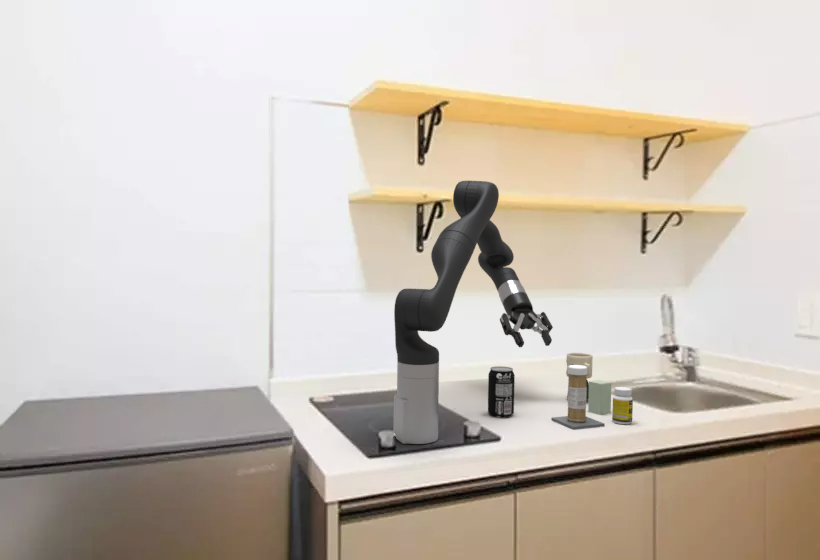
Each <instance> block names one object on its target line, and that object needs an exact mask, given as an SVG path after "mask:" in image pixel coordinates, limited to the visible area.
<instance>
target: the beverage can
mask: <svg viewBox="0 0 820 560" xmlns="http://www.w3.org/2000/svg"><path fill="white" fill-rule="evenodd" d="M487 377H488V379H487V380H488V381H487V382H488V385H487V387H488V390H487V391H488V392H487V413H488V414H489V415H490V416H491V417H494V418H501V419H502V418H503V419H504V418H505V419H507V418H510V417H512V416H513V414H514V413H515V378H516V377H515V373H514V368H512V367H511V366H501V365H498V366H491V367H490V370H489V372H488V376H487Z"/></svg>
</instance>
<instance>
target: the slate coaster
mask: <svg viewBox="0 0 820 560" xmlns="http://www.w3.org/2000/svg"><path fill="white" fill-rule="evenodd" d="M567 417H568V415H564V416H554V417H553V416H552V417H551V419H550V420H551V421H553V422H555V423H557V424H560V425H562V426H564V427H566V428H569V429H571V430H580V429H581V430H583V429H591V428H600V426H601V427H605V424H606V423H604V422H602V421H599V420H597V419H594V418H591V417H588V416H586V421H584V422H572V421H569V420H568V419H567Z"/></svg>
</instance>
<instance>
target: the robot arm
mask: <svg viewBox="0 0 820 560" xmlns="http://www.w3.org/2000/svg"><path fill="white" fill-rule="evenodd" d="M499 195H500V194H499V187H498V186H497V185H496V184H495V183H494V182H490V181H485V180H483V181H482V180H461V181H458V183H457V184H456V185H455V188H454V190H453V196H452V200H453V202H452V203H453V207H454V209H455V211H456V213H457V214H458V216H459V217H460V218H459V219H457V220H455V221H453V222H452V223H450V224H449V225H447V226H446V227H445V228H444V229H443V230H442V231H441V232H440V233H439V235H438V237H437V239H436V241H435V243H434V245H433V247H432V249H431V253H430V255H431V256H430V257H431V262H432V265H433V268H434V272H435V273H436V276H437V281H436V283H435V285H434V286H433V287H432V288H429V289H426V288H403V289H401V290H400V291H399V292H398V293H397V296H396V298H395V301H394V311H393V312H394V315H393V316H394V318H393V320H394V332H395V333H394V336H395V339H394V340H395V350H396V351H395V352H396V354H397V355H396V356H397V357H396V359H397V364H396V365H397V367H396V368H397V369H396V373H397V374H396V375H397V376H396V390H397V391H396V393H395V394H393V427H392V428H393V432H394V433H395V434H396V438H395V439H396V440H398V441H399V442H400V443H401V444H405V445H406V444H413V445H424V444H432V443H434V442H436V441H438V439H439V395H440V394H439V390H440V389H439V386H440V385H439V383H440V381H439V380H440V378H439V377H440V351H439V349H438V348H437V347H436V346H434V345H431V343H428V342H426V341H425V340H424V339H423V338H422V337H421V336H420V335H419V332H437V331H439V330H440V329H442V327H443V326H444V325H445V322H446V320H447V318H448V316H449V313H450V309H451V307H452V303H453V301H454V298H455V294H456V291H457V288H458V285H459V283H460V281H461V279H462V277H463V274H464V272H465V271H466V268H467V266H468V264H469V262H470V260H471V258H472V256H473V254H474V251H475V249H476V248H477V247H476V246H477V245H478V249H479V250H480V253H479V254H478V257H477V262H478V265H479V267H480V269H481V270H482V271H484V272H485V274H486V275H487V276H488V277H489V278H490V279H491V280H492V282H493V284H494V286H495V288H496V290H497V293H498V296H499V299H500V302H501V305H502V306H503V309H504V311H505V312H503V313H502V314H501V316H500V318H499V322H500V325H501V327H502V329H503V334H504V335H505V336H511V337H512V338H513V340H514V342H515V344H516V346H518V348H523V346H524V345H525V340H524V339H523V337H522V334H521V332H519V330H520V329H521V330H532V331H534V332H535V333H538V334H539V335H540V336H541V338H542V342H544V344H545V346H546V347H548V346H550V344H551V343H552V340H553V339H552V337H551V335H550V333H551V331H552V329H553V328H554V327H553V325H552V323H551V321H550V319H549V317H548V315H547V314H546V313H545V312H544V311H542V312H541V313H536V312H534V307H533V304H532V302H531V299H530V298H529V296H528V293H527V292H526V290H525V287H524V286H523V285H522V283H521V281H520V279H519V277H518V275H517V273H516V271H515V269H513V268H512V267H509V266H510V265H511V264H512V263H513V261H514V257H515V256H514V255H515V254H514V253H513V250H512V249H511V247H510V246H509V244H507V243H506V242H504V240H503V238H502V236H501V233H500V231H499V228H498V227H497V225H496V224H495V223H494V222H493V221H492V220H491V219H492V217H493V215H494V214H495V211H496V209H497V206H498V203H499V197H500V196H499ZM510 322H511V323H512V324H513V325H514V326H513V328H512V325H511V323H510ZM535 325H536V326H535Z"/></svg>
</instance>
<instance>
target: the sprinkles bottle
mask: <svg viewBox="0 0 820 560" xmlns="http://www.w3.org/2000/svg"><path fill="white" fill-rule="evenodd" d="M568 375H569V377H568V381H567V382H568V384H567V385H568V386H567V394H568V398H567V416H568V417H567V419H568V420H569V421H572V422H584V421H586V417H587V416H586V415H587V414H586V413H587V411H586V410H587V409H586V408H587V400H586V391H587V387H586V376H587V367H586V366H583V365H570V366H568Z"/></svg>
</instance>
